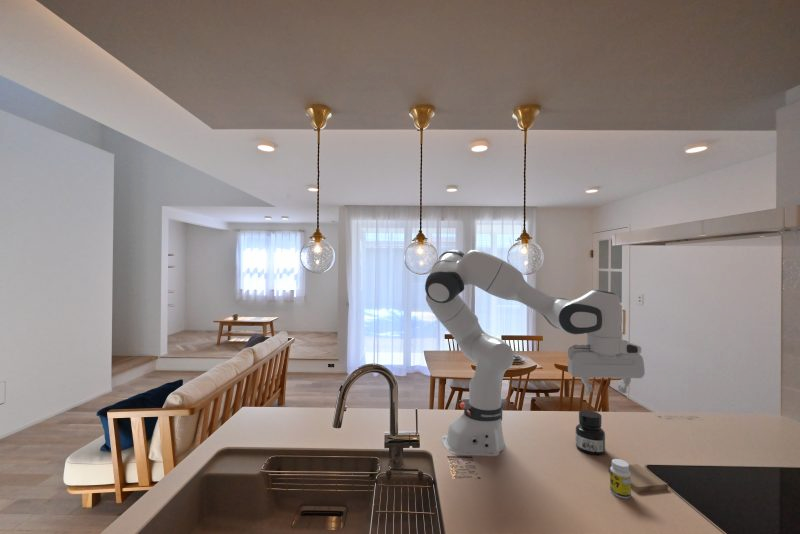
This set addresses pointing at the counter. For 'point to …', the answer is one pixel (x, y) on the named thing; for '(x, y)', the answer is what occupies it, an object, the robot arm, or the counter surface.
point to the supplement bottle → (620, 479)
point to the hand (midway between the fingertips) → (605, 392)
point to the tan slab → (644, 480)
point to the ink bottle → (590, 433)
